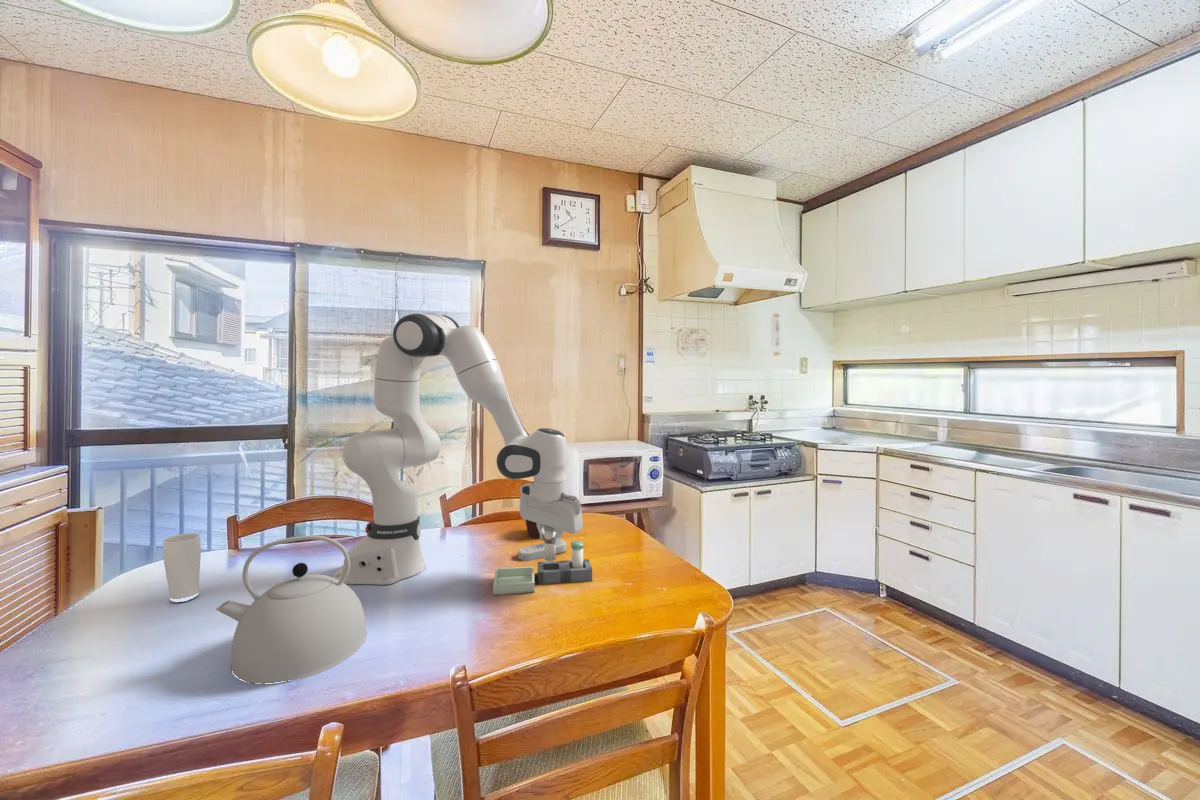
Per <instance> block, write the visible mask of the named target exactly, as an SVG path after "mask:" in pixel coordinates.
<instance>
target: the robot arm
mask: <svg viewBox="0 0 1200 800" xmlns="http://www.w3.org/2000/svg"><path fill="white" fill-rule="evenodd" d="M436 356H443V357H444V358H446V359H447V360H448V361H449V362H450V363H449V364H450V365H451V366H452V368H453V371H454V373H455V375H456V378H457V380H458V382H459V385H460V387H462V390H463V391H464V392H465V394H466V396H467V397H468V398H469V399H470V400H471V401H474V402H476V403H478V404H479V405H481V407H484V408H485V409H487V411H488V412H489V413H490V414H491V416H492V418H493V420H494V422H495V424H496V427H497V428H498V430H499V432H500V434H501V436H502V439H503V441H504V446H503V447H502V448H501V449H500V450H499V452H498V454H497V457H496V467H497V469H498V471H499V472H500V474H501V475H502V476H504V477H505V478H507V479H510V480H520V479H521V480H522V479H527V478H533V481H532V482H530V483H526V484H523V485H521V486H520V487H519V493H520V494H521V495H520V497H519V514H520V517H521V519H523V520H525V519H526V520H529V521H533V522H536V523H537V528H538V531H539V533H540V538H539V540H541V541H544V525H545V526H549V527H552V528H555V532H556V534H555V537H552V543H553V544H555V545H558V544H560V539H561V537H562V536H563V534H564V532H565V533H568V534H574V535H575V534H576V533H579V532H581V530H582V529H583V528H584V527H583V525H584V524H583V514H582V505H581V501H580V500H579V499H578V498H577V496H575V495H570V494H568V475H567V467H568V462H569V461H568V458H569V456H568V443H567V442H568V441H567V437H566V436H565V435H564V433H563V432H562V431H560V430H557V429H552V428H545V427H542V428H541V427H540V428H538V429H536V430H535V431H534V432H532V433H531V434H530V433H528V432H527V430H526V428H525V427H524V425H523V424H522V421H521V418H520V416H519V415H518V413H517V411H516V409H515V406H514V404H513V402H512V400H511V398H510V393H509V391H508V388H507V385H506V381H505V377H504V374H503V371H502V369H501V367H500V364H499V361H498V360H497V356H496V354H495V352H494V350H493V349H492V347H491V345H490V343H489V341H488V340H487V338H486V337H485V336H484V333H483V331H481V330H480V329H479V328H478V327H476V326H474V325H470V324H469V325H468V324H467V325H462V326H460V325H459V324H458V322H457V321H456V320H455V319H453V318H452V317H450V316H448V315H445V314H438V313H433V312H432V313H431V312H426V313H411V314H407V315H404V316H403V317H401V318H400V319H399V320H398V321H397V322H396V323H395V324H394V327H393V331H392V336H389V337H386V338H385V339H383V340H382V341H381V342H380V344H379V348H378V352H377V356H376V362H375V363H376V364H375V369H374V370H375V371H374V388H373V389H374V391H373V395H374V396H373V404H374V406H375V409H376V410H377V411H378V412H380V413H381V414H382V415H384V416H386V417H388V418H391V419H392V422H393V428H389V429H378V430H368V431H364V432H361V433H358V434H354V435H351V436H349V437H348V438H347V440H346V441H345V443H344V444H343V447H342V459H343V463H344V464H345V466H346V468H347V469H348V470H349V471H350V472H352V473H354V474H356V475H357V476H359V477H360V478H361V479H362V480H363V481H364V482H365V484H367V486H368V488H369V491H370V493H371V498H372V508H373V517H372V518H371V519H369V521H368V523H367V524H366V526H365V528H364V533H366V535H365V536H364V537H363V538H361V539H360V540H359V541H358V542H356V543H355V544H354V545H353V546H351V547H350V548H349V550H347V553H348V555H349V559H350V570H349V573H348V575H347V577H346V579H345V580H344V582H343V583H344V584H346V585H382V586H383V585H392V584H394V583H397V582H398V581H401V580H404V579H407V578H410V577H413V576H415V575H417V574H419V573H421V572H422V571H423V570H424V569H425V568H426V563H425V561H424V558H423V553H422V549H421V544H420V543H421V542H420V537H421V522H420V516H419V513H418V512H419V511H418V508H419V507H418V503H419V502H418V491H417V489H416V488H415V487H414V485H413V484H411V483H410V482H407V481H403V480H401V479H400V478H399V476H398V470H399V469H405V468H413V467H419V466H422V465H425V464H427V463H430V462H432V461H435V460H437V458H438V456H439V455H440V452H441V449H442V442H441V439H440V436H439V434H438V433H437V432H436V431H435V430H434V428H432V427H431V426H429V424H427V422H426V421H425V419H424V416H423V415H422V411H421V404H420V386H421V385H420V384H421V367H422V363H423V361H424V359H426V358H433V357H436ZM526 520H525V521H526ZM345 568H346V561H345V558H344V560H343V564H342V565H341V566H340V567H339V568H338V569H337V570H336V571H335V573H334V575H333V578H335V579H337V580H340V579H341V577H342V576H343V574H344V572H345Z"/></svg>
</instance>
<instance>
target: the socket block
mask: <svg viewBox="0 0 1200 800" xmlns="http://www.w3.org/2000/svg"><path fill="white" fill-rule="evenodd" d="M578 582H579V583H580V582H581V583H582V582H593V567H592V565H591V562H590V559H586V558H585V559H584V558H583V568H573V569H572V559H570V560H568V559H567V560H553V561H538V562H537V583H538V585H544V584H545V585H549V584H562V583H563V584H564V583H578Z"/></svg>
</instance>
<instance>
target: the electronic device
mask: <svg viewBox="0 0 1200 800" xmlns="http://www.w3.org/2000/svg"><path fill="white" fill-rule="evenodd" d="M566 550H567V542H566V541H565V540H563V539H561V538H560V544H558V545H556V555H558V554H562V553H565V552H566ZM517 555H518V559H519V560H521V561H533V560H537V559H542V558H544V542H542V543H536V544H533V545H527V546H524V547H520V548H519V549H518V551H517Z"/></svg>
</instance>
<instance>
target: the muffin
mask: <svg viewBox="0 0 1200 800" xmlns="http://www.w3.org/2000/svg"><path fill="white" fill-rule="evenodd" d="M524 520H525V525H526V531H527V536H529V538H533V539H540V533H539V531H538V528H537V523H536V522H533V521H529V520H526V519H524Z"/></svg>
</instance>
